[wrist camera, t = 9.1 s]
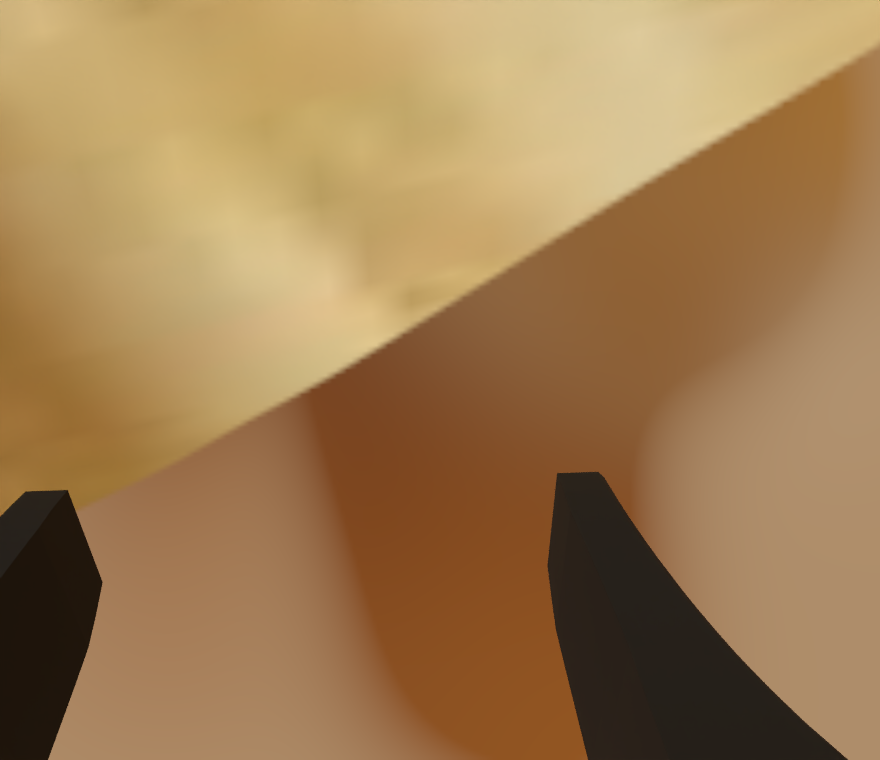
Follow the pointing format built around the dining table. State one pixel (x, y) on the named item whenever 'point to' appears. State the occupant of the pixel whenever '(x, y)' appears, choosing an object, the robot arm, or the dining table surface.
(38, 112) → the dining table surface
